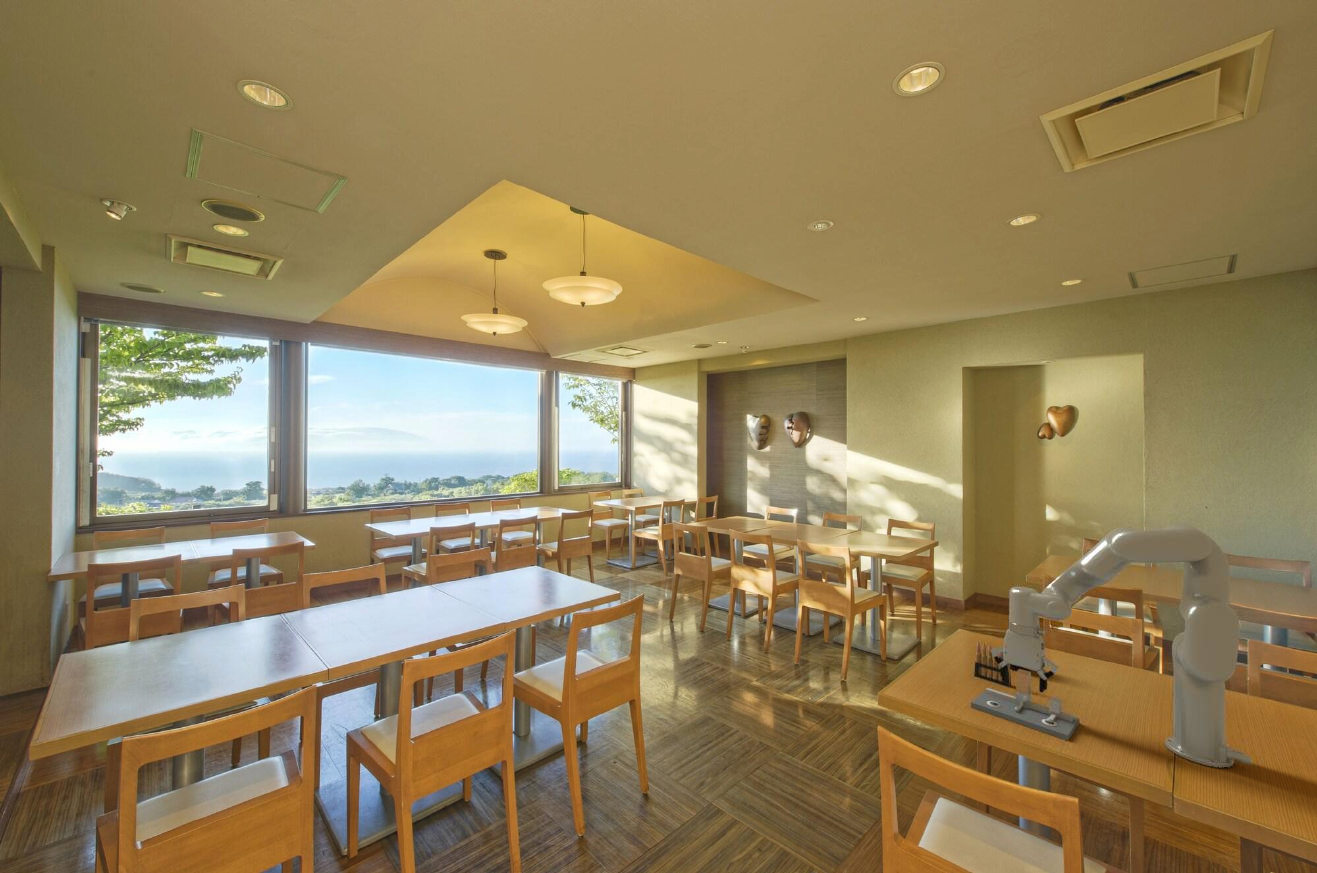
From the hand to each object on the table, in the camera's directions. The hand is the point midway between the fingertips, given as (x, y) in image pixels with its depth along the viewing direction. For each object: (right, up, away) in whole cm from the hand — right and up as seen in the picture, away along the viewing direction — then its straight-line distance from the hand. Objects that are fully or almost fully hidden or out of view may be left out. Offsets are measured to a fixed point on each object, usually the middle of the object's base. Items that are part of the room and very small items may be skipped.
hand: (1023, 685), depth 162 cm
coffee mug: (+19, -8, +29) cm, 36 cm away
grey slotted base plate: (-2, -7, -3) cm, 8 cm away
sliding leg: (-2, -6, -2) cm, 6 cm away
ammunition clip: (+3, -8, +20) cm, 22 cm away
